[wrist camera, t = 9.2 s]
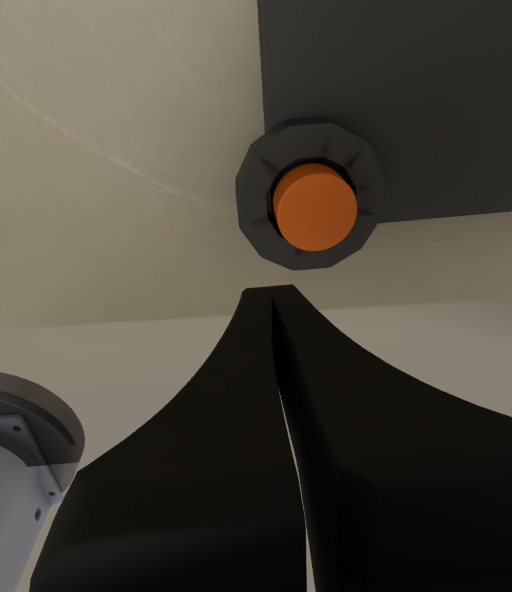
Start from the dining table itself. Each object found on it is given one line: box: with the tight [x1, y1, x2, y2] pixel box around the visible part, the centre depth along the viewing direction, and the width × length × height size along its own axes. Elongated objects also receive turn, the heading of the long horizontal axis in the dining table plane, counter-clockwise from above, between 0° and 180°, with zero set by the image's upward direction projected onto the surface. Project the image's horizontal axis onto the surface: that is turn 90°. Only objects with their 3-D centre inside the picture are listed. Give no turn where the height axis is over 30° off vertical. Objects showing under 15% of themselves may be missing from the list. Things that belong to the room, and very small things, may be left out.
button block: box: [235, 0, 512, 270], centre depth 16 cm, size 18×11×3 cm, turn 94°
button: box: [273, 163, 357, 251], centre depth 16 cm, size 3×3×2 cm
